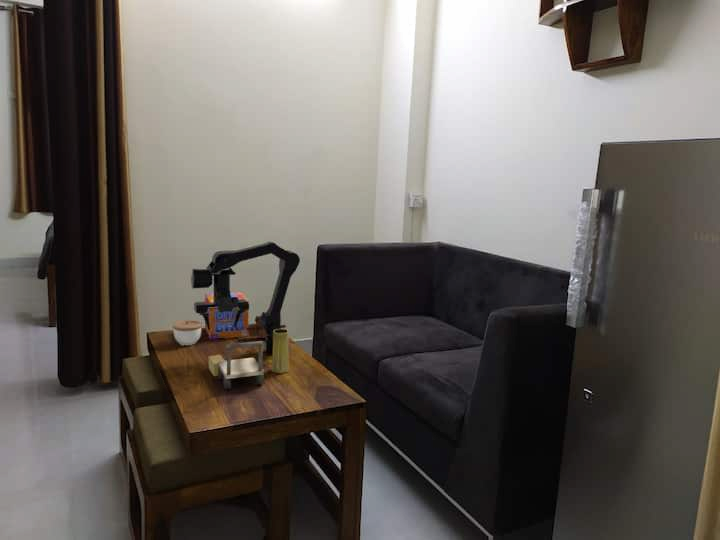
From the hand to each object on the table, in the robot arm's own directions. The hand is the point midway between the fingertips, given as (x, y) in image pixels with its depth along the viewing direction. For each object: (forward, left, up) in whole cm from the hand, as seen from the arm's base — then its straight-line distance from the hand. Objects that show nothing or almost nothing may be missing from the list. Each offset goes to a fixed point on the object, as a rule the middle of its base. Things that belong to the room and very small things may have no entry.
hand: (221, 329), depth 194 cm
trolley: (-1, +24, -11) cm, 26 cm away
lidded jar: (+9, -21, -11) cm, 25 cm away
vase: (-16, +19, -11) cm, 27 cm away
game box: (-8, -30, -11) cm, 33 cm away
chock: (+4, +12, -11) cm, 17 cm away
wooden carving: (-22, -18, -11) cm, 31 cm away
